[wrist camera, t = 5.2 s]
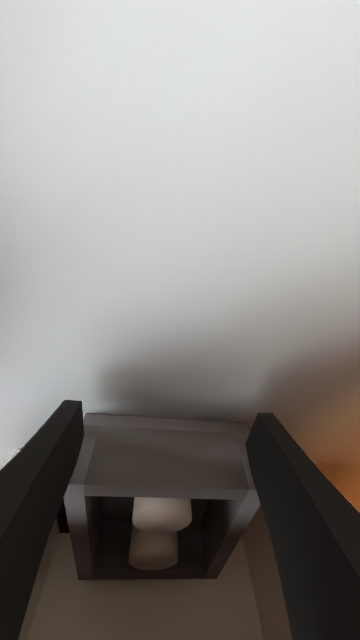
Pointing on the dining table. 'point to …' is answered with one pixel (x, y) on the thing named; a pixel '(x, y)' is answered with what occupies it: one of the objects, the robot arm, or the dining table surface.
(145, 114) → the dining table surface
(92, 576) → the tray
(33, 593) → the shallow storage bin
